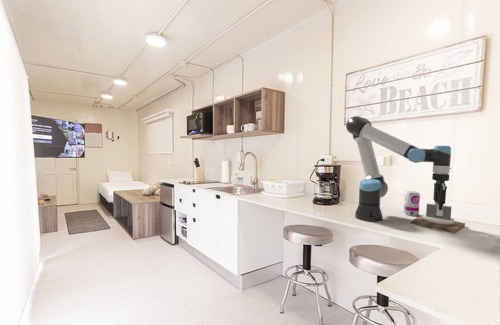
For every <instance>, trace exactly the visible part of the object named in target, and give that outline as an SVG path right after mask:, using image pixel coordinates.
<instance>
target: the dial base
mask: <svg viewBox="0 0 500 325" xmlns="http://www.w3.org/2000/svg"><path fill="white" fill-rule="evenodd" d="M410 224H411V225H413V226H419V227H424V228H428V229H433V230H436V231H437V230H438V231H442V232H446V233H449V234H451V233H452V234H457V233H458V232H459V231H461V230H462V229H464V228H465V226H466V222H461V221H455V220H454V224H453V225H441V224H435V223H430V222H427V221H425V220H423V215H421V216H417V217H416V218H414V219H411V220H410Z"/></svg>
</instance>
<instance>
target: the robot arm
mask: <svg viewBox="0 0 500 325" xmlns="http://www.w3.org/2000/svg"><path fill="white" fill-rule="evenodd" d="M345 128H346V131H347V132H348V133H350V134H351V135H352V139H353V141H354V142H356V144H357V147H358V151H359V152H358V153H359V155H360V159H361V164H362V168H363V171H364V175H365V177H364V178H363V179H361V180H360V181H359V184H358V185H359V187H358V188H359V189H358V190H359V192H358V206H357V208H356V211H355V213H354V214H355V215H354V217H355V218H356V219H358V220H361V221H366V222H382V221H383V219H384V218H383V213H382V209H381V198H383V197H385V195H386V194H387V193H388V191H389V186H388V184H387V182H386V181H385V178H384V175H383V174H381V173H380V170H379V167H378V166H379V165H378V161H377V157H376V153H375V150H374V146H373V143H372V142H374V143H375V144H377V145H378V146H381V147H383V148H385V149H387V150H388V151H389V150H390V151H391V152H393V153H395V154H397V155H399V156H402V157H403V158H405V159H407V160H408V161H409V162H412V163H415V164H417V163H432V176H431V177H432V178H431V179H432V180H433V181H435V182H434V183H433V201H434V203H433V204H435V205H437V213H436V215H437V216H443V206H444V205H445V204H446V198H447V188H448V186H447V185H446V183H445V182H448V181H450V170H451V169H452V168H451V159H452V157H451V156H452V147H451V146H449V145H435V146H434V148H419V147H417V146H415V145H412V144H411V143H408V142H406V141H404V140H401V139H400V138H397V137H396V136H393V135H392V134H389V133H387V132H385V131H383V130H381V129H379V128H376V127H374V126H373V125H372V122H371V121H370V120H369V119H367V118H366V117H362V116H359V115H358V116H357V115H356V116H352V117H350V118H348V119H347V121H346V124H345Z"/></svg>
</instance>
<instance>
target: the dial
mask: <svg viewBox="0 0 500 325" xmlns="http://www.w3.org/2000/svg"><path fill="white" fill-rule="evenodd" d="M425 208H426V214H422V216H423V220H425V221H427V222H430V223H435V224H441V225H453V224H454V221H455V219H454V218H452V217H451V216H452V206H449V205H443V216H437V215H436V213H437V205H435V204H434V203H426V207H425Z"/></svg>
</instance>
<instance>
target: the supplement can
mask: <svg viewBox="0 0 500 325" xmlns="http://www.w3.org/2000/svg"><path fill="white" fill-rule="evenodd" d="M420 200H421V195H420V191H419V192H418V191H416V190H415V191H414V190H406V191H405V193H404V202H403V203H404V204H403V205H404V206H403V213H404V214H405V215H406V216H412V217H416V216H417V217H419V215H420V203H421V202H420Z"/></svg>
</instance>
